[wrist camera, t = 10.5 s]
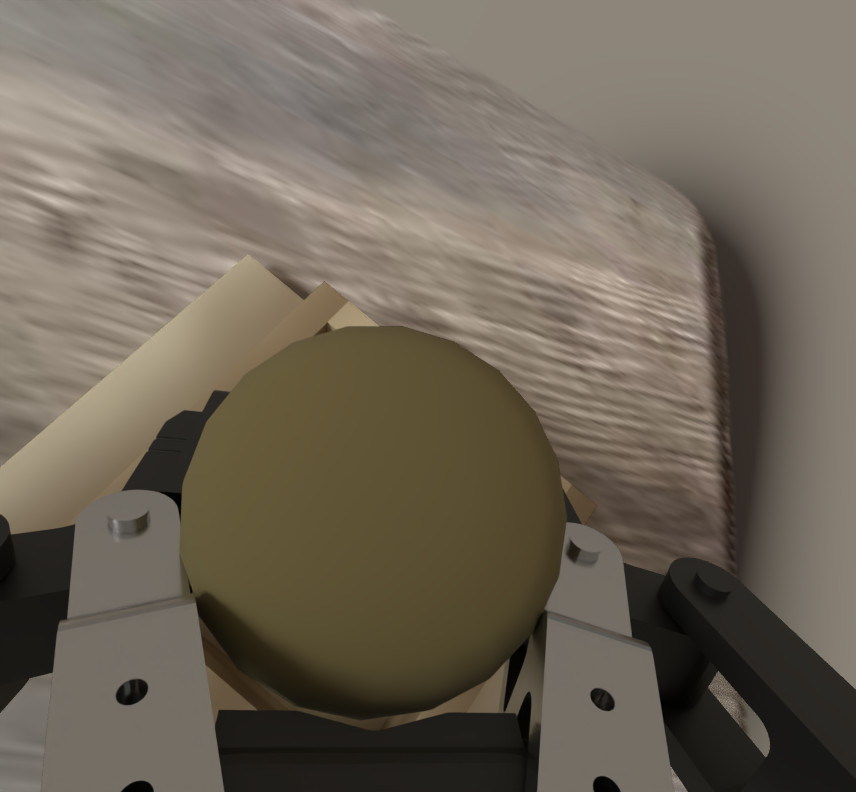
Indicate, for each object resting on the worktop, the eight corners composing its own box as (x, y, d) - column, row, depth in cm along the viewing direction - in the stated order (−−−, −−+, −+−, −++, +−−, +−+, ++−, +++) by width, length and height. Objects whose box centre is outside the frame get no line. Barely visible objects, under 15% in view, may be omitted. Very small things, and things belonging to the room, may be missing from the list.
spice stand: (-70, 548, 16) (-166, 542, 13) (251, 268, 21) (240, 211, 17) (404, 962, 15) (430, 1067, 12) (624, 577, 20) (686, 579, 17)
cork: (438, 659, 16) (659, 811, 6) (222, 648, 15) (16, 807, 5) (450, 455, 18) (630, 293, 8) (259, 434, 17) (170, 215, 7)
